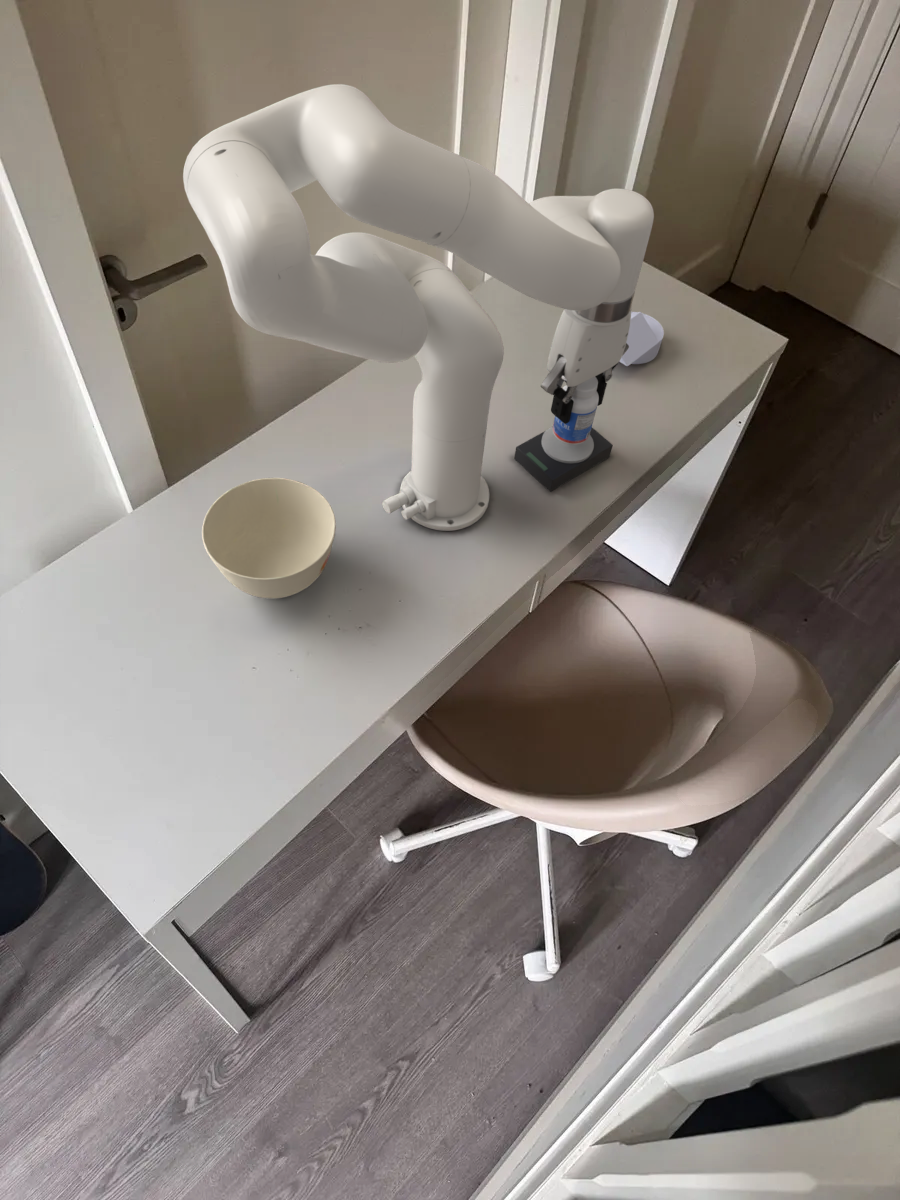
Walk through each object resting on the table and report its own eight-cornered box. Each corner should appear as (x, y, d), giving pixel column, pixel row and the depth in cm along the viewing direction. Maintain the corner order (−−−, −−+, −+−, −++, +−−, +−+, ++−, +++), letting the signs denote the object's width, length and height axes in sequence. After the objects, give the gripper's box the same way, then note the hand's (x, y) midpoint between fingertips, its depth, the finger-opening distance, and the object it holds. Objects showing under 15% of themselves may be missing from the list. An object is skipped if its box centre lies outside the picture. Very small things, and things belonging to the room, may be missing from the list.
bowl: (279, 509, 119) (271, 458, 110) (365, 571, 113) (363, 522, 105) (189, 579, 111) (173, 529, 103) (276, 648, 106) (267, 602, 98)
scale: (550, 492, 123) (553, 477, 121) (513, 458, 126) (516, 444, 124) (609, 457, 128) (614, 442, 125) (573, 425, 131) (576, 411, 129)
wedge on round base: (622, 383, 137) (669, 346, 143) (632, 349, 132) (680, 312, 138) (578, 355, 141) (625, 321, 146) (586, 321, 135) (635, 287, 141)
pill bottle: (545, 425, 124) (555, 372, 116) (577, 415, 125) (590, 362, 117) (563, 450, 121) (575, 398, 113) (596, 440, 123) (610, 387, 115)
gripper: (629, 258, 110) (601, 370, 124) (528, 305, 103) (511, 417, 118) (672, 288, 106) (638, 399, 121) (571, 339, 100) (548, 450, 115)
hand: (576, 407), depth 119 cm, fingers closed on pill bottle, 5 cm apart
